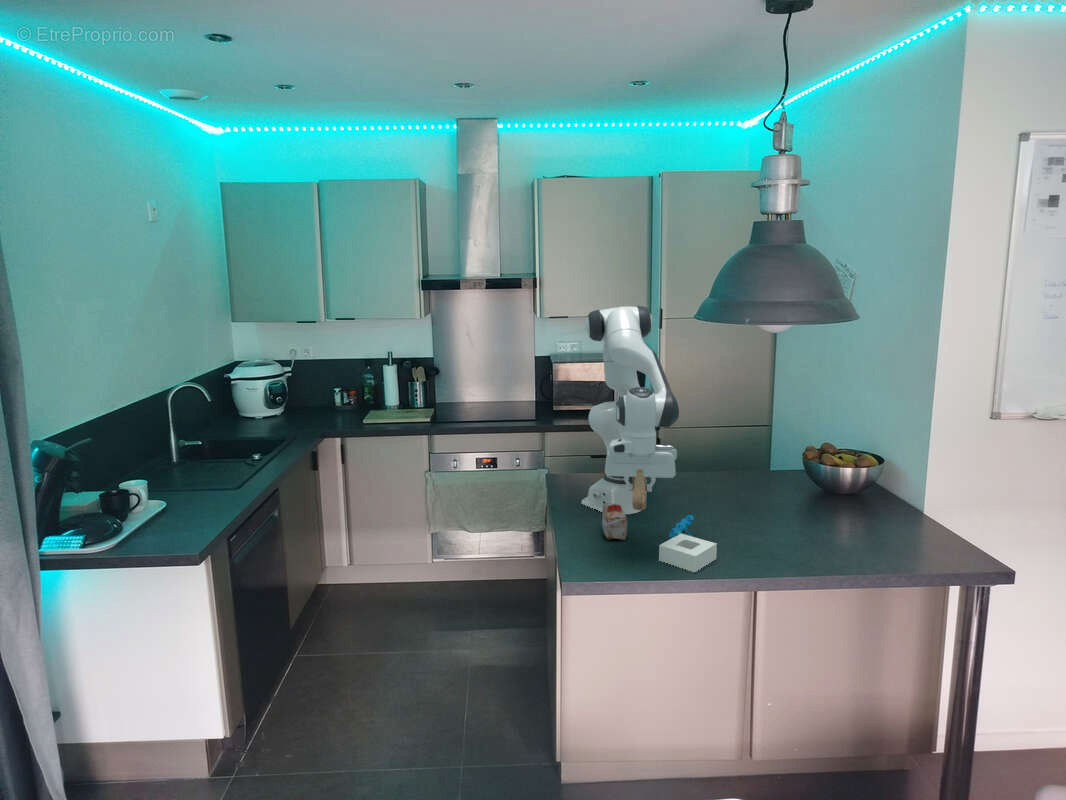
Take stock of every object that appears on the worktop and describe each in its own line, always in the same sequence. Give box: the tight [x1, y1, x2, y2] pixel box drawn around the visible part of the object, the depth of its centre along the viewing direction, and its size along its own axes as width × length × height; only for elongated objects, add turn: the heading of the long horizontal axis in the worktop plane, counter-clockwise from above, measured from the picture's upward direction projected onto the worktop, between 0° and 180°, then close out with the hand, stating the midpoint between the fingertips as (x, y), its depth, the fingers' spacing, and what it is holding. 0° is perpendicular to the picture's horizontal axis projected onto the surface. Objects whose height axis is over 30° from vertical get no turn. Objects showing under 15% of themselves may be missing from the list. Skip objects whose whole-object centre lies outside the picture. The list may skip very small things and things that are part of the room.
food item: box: [601, 503, 628, 541], centre depth 230 cm, size 14×8×10 cm, turn 3°
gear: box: [668, 514, 694, 539], centre depth 226 cm, size 11×6×10 cm
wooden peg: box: [632, 470, 648, 511], centre depth 207 cm, size 4×4×12 cm
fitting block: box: [658, 533, 718, 573], centre depth 210 cm, size 12×12×5 cm
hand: (639, 490), depth 207 cm, fingers closed on wooden peg, 4 cm apart
